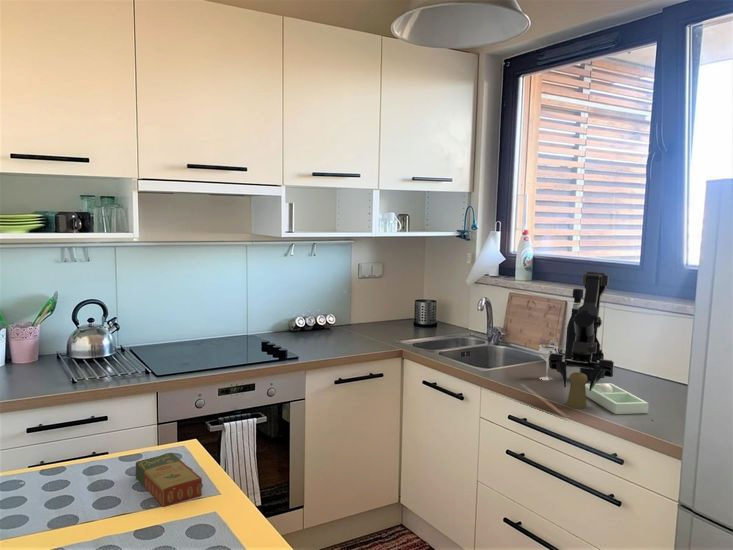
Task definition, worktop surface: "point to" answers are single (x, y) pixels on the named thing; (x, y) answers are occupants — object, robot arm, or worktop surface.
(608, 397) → the green divided tray
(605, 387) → the egg
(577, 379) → the cork
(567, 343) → the wine bottle
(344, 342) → the worktop surface
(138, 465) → the carton
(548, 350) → the wineglass
